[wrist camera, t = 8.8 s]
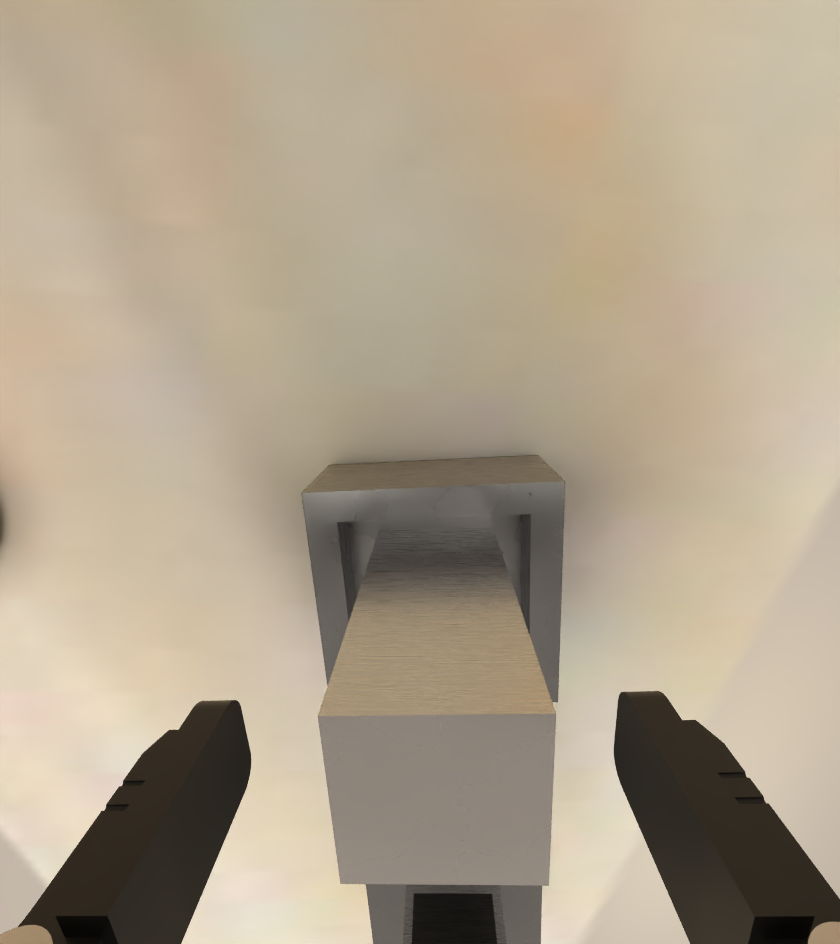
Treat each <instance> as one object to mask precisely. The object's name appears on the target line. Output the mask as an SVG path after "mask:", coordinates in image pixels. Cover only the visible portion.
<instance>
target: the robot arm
mask: <svg viewBox="0 0 840 944" xmlns="http://www.w3.org/2000/svg"><path fill="white" fill-rule="evenodd" d="M614 759H615V765H616V770H617V774H618V777H619V780H620V783H621V786H622V788H623V790H624V793H625V795H626V797H627V800H628V802H629V804H630V806H631V809H632V811H633V813H634V816H635V818H636V820H637V823H638V825H639V827H640V829H641V832H642V834H643V836H644V839H645V841H646V843H647V845H648V848H649V850H650V852H651V854H652V857H653V859H654V861H655V864H656V866H657V868H658V871H659V873H660V875H661V878H662V880H663V882H664V884H665V887H666V889H667V891H668V894H669V896H670V898H671V900H672V903H673V905H674V907H675V910H676V912H677V914H678V917H679V919H680V921H681V923H682V926H683V928H684V930H685V932H686V935H687V937H688V939H689V942H690V944H840V899H839V898H838V896H837V895H836V894H835V892H834V891H833V889H832V888H831V887H830V885H829V884H828V883H827V882H826V880H825V879H824V877H823V876H822V875H821V873H820V872H819V871H818V869H817V868H816V867H815V865H814V864H813V863H812V861H811V860H810V859H809V857H808V856H807V854H806V853H805V852H804V850H803V849H802V848H801V847H800V845H799V844H798V842H797V841H796V840H795V838H794V837H793V836H792V834H791V833H790V832H789V830H788V829H787V828H786V826H785V825H784V824H783V822H782V821H781V820H780V819H779V817H778V815H777V814H776V813H775V811H774V810H773V809H772V807H771V806H770V805H769V804H766V802H765V801H764V797H763V795H762V794H761V793H760V791H759V790H758V789H757V787H756V786H755V785H754V783H753V782H752V781H751V779H750V778H747V777H746V774H745V771H744V770H743V768H742V767H741V766H740V764H739V763H738V762H737V760H736V759H735V758H734V756H733V755H732V754H731V752H730V751H729V750H728V748H727V747H726V745H725V744H724V743H723V742H722V741H720V740H719V739H718V738H717V737H716V736H714V735H713V734H712V733H711V732H710V731H708V730H707V729H706V728H705V727H703V726H702V725H701V724H700V723H699V722H697V721H696V720H682V719H681V718H680V716H679V715H678V713H677V712H676V710H675V709H674V707H673V706H672V705H671V703H670V702H669V700H668V699H667V697H666V696H665V695H664V694H663V693H662V692H659V691H646V692H621V693H620V695H619V699H618V708H617V719H616V730H615V741H614ZM250 770H251V753H250V748H249V743H248V739H247V734H246V729H245V724H244V720H243V715H242V710H241V706H240V704H239V702H238V701H236V700H226V701H201V702H199V703H197V704H196V705H195V706H194V708H193V709H192V710H191V712H190V713H189V715H188V716H187V718H186V719H185V721H184V722H183V724H182V725H181V727H180V729H179V730H169V731H167V732H166V733H165V734H164V735H163V736H162V737H161V738H160V739H158V740H157V741H156V742H155V743H154V744H153V745H152V746H151V747H149V748H148V749H147V750H146V751H145V752H144V753H143V754H142V755H141V757H140V758H139V759H138V761H137V762H136V764H135V765H134V766H133V768H132V769H131V771H130V772H129V773H128V775H127V776H126V778H125V779H124V781H123V785H122V786H120V787H119V788H118V789H117V790H116V792H115V793H114V795H113V796H112V797H111V799H110V800H109V802H108V803H107V804H106V809H105V810H104V811H101V813H100V814H99V816H98V817H97V818H96V820H95V821H94V823H93V824H92V825H91V827H90V828H89V830H88V831H87V832H86V834H85V835H84V837H83V838H82V839H81V841H80V842H79V844H78V845H77V846H76V848H75V849H74V851H73V852H72V853H71V855H70V856H69V858H68V859H67V861H66V862H65V863H64V865H63V866H62V868H61V869H60V870H59V872H58V873H57V875H56V876H55V877H54V879H53V880H52V882H51V883H50V884H49V886H48V887H47V889H46V890H45V891H44V893H43V894H42V896H41V897H40V899H39V900H38V901H37V903H36V904H35V905H34V907H33V908H32V910H31V911H30V912H29V914H28V915H27V916H26V917H25V919H24V920H23V921H22V923H21V924H20V925H19V926H18V927H17V928H14V929H11V930H9V931H6V932H4V933H2V934H0V944H181V942H182V940H183V938H184V935H185V933H186V931H187V928H188V926H189V923H190V921H191V919H192V916H193V914H194V912H195V909H196V907H197V904H198V902H199V900H200V897H201V895H202V893H203V890H204V888H205V885H206V883H207V881H208V878H209V876H210V873H211V871H212V869H213V866H214V864H215V862H216V859H217V857H218V854H219V852H220V850H221V847H222V845H223V843H224V840H225V838H226V835H227V833H228V831H229V828H230V826H231V824H232V821H233V819H234V816H235V814H236V812H237V809H238V807H239V804H240V802H241V800H242V797H243V795H244V793H245V790H246V787H247V784H248V780H249V776H250Z"/></svg>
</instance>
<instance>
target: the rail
mask: <svg viewBox="0 0 840 944" xmlns="http://www.w3.org/2000/svg"><path fill="white" fill-rule="evenodd" d="M301 494H302V501H303V508H304V516H305V523H306V530H307V538H308V545H309V552H310V560H311V567H312V575H313V582H314V589H315V597H316V604H317V611H318V619H319V626H320V633H321V641H322V648H323V655H324V663H325V670H326V677H327V685H328V684H329V681H330V678H331V675H332V672H333V669H334V665H335V662H336V659H337V656H338V653H339V650H340V647H341V644H342V641H343V638H344V635H345V632H346V629H347V626H348V623H349V620H350V617H351V614H352V611H353V608H354V604H355V601H356V598H357V595H358V592H359V589H360V586H361V583H362V580H363V577H364V574H365V571H366V568H367V565H368V562H369V559H370V556H371V553H372V550H373V547H374V543H375V540H376V537H377V534H378V531H389V530H422V529H454V528H486V527H493V528H494V531H495V534H496V537H497V540H498V543H499V546H500V549H501V552H502V555H503V558H504V561H505V564H506V567H507V570H508V573H509V576H510V579H511V582H512V585H513V588H514V591H515V594H516V597H517V600H518V603H519V605H520V608H521V611H522V614H523V617H524V620H525V623H526V626H527V629H528V632H529V635H530V638H531V641H532V644H533V647H534V650H535V653H536V656H537V659H538V662H539V665H540V668H541V671H542V674H543V677H544V680H545V683H546V685H547V688H548V691H549V694H550V697H551V700H552V702H558V683H559V652H560V621H561V590H562V559H563V528H564V496H565V481H564V480H563V479H562V478H561V477H560V476H559V475H558V474H557V473H556V472H555V471H554V470H553V469H552V468H551V467H550V466H549V465H548V464H546V463H545V462H544V461H543V460H542V459H541V458H540V457H539V456H538V455H531V456H510V457H489V458H468V459H447V460H426V461H405V462H384V463H363V464H342V465H329V466H328V467H327V468H326V469H325V470H324V471H323V472H322V473H321V474H320V475H319V476H318V477H317V478H316V479H315V480H314V481H313V482H312V483H311V484H310V485H309V486H308V487H307V488H306V489H305V490H304V491H303V492H302V493H301ZM366 889H367V897H368V905H369V912H370V920H371V928H372V936H373V944H541V905H542V885H419V884H366Z"/></svg>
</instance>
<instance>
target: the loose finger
mask: <svg viewBox="0 0 840 944" xmlns="http://www.w3.org/2000/svg"><path fill="white" fill-rule="evenodd" d="M318 720H319V728H320V735H321V743H322V750H323V757H324V765H325V772H326V780H327V787H328V794H329V802H330V809H331V817H332V824H333V831H334V839H335V846H336V854H337V861H338V868H339V876H340V883H341V884H419V885H543V886H549V867H550V843H551V819H552V796H553V772H554V749H555V725H556V712H555V709H554V706H553V703H552V700H551V697H550V694H549V691H548V688H547V685H546V683H545V680H544V677H543V674H542V671H541V668H540V665H539V662H538V659H537V656H536V653H535V650H534V647H533V644H532V641H531V638H530V635H529V632H528V629H527V626H526V623H525V620H524V617H523V614H522V611H521V608H520V605H519V603H518V600H517V597H516V594H515V591H514V588H513V585H512V582H511V579H510V576H509V573H508V570H507V567H506V564H505V561H504V558H503V555H502V552H501V549H500V546H499V543H498V540H497V537H496V534H495V531H494V528H493V527H486V528H454V529H422V530H389V531H378V534H377V537H376V540H375V543H374V547H373V550H372V553H371V556H370V559H369V562H368V565H367V568H366V571H365V574H364V577H363V580H362V583H361V586H360V589H359V592H358V595H357V598H356V601H355V604H354V608H353V611H352V614H351V617H350V620H349V623H348V626H347V629H346V632H345V635H344V638H343V641H342V644H341V647H340V650H339V653H338V656H337V659H336V662H335V665H334V669H333V672H332V675H331V678H330V681H329V684H328V687H327V690H326V693H325V696H324V699H323V702H322V705H321V708H320V711H319V714H318Z"/></svg>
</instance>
